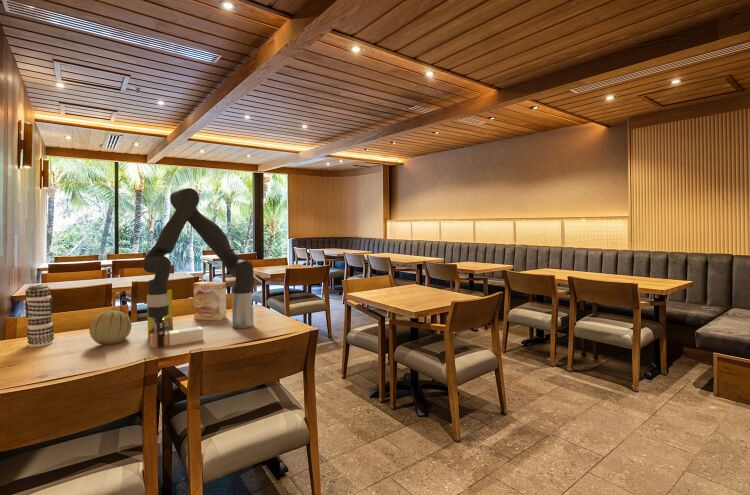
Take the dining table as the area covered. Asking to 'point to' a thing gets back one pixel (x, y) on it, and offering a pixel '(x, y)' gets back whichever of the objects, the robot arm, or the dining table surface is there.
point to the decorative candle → (39, 315)
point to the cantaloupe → (110, 327)
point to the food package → (167, 318)
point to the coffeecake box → (209, 300)
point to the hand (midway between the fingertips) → (159, 344)
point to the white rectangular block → (185, 335)
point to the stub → (154, 339)
